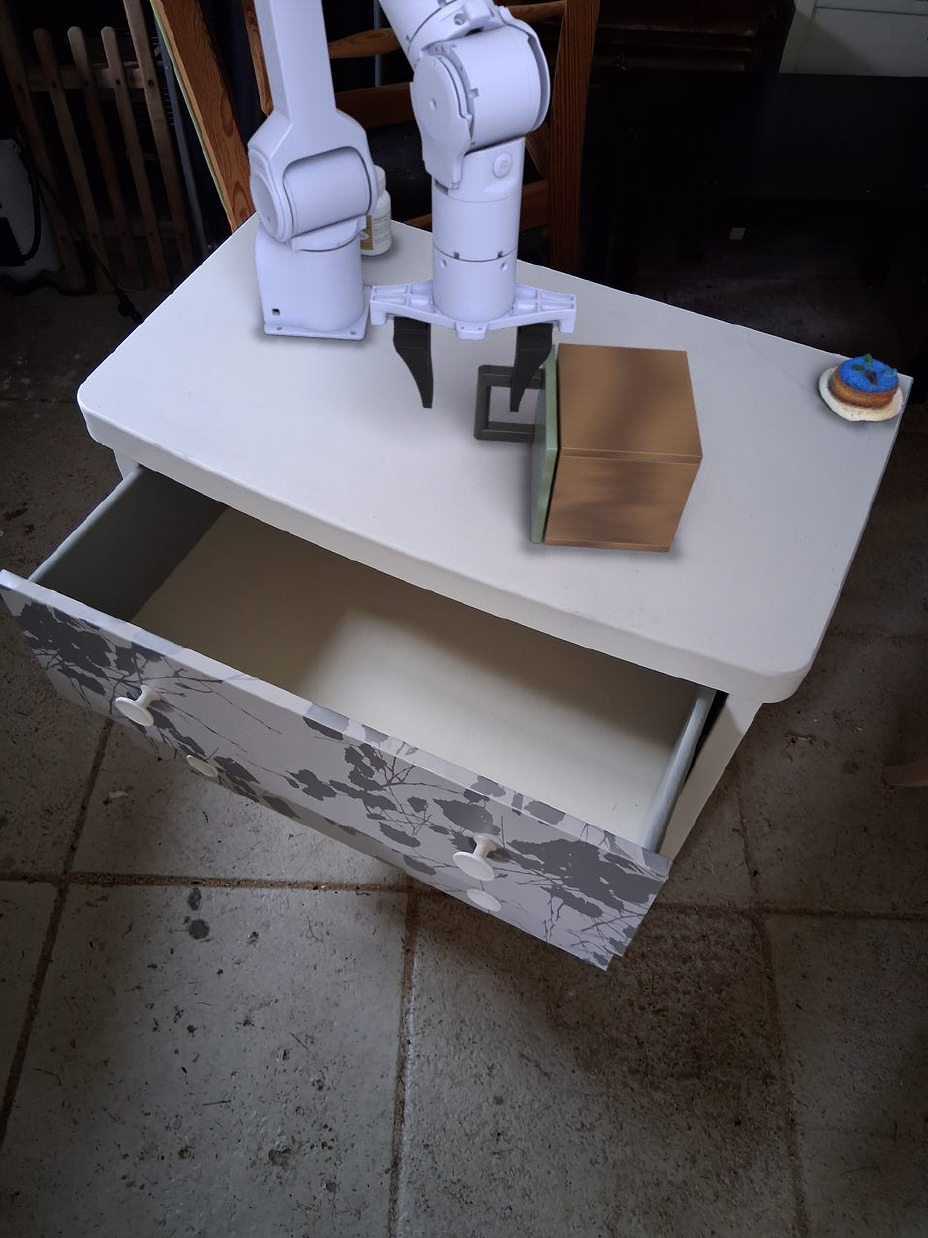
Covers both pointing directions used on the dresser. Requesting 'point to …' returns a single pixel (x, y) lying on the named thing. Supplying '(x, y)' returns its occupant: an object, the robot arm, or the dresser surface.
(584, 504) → the cupboard
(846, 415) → the dessert
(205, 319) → the dresser surface
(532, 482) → the door
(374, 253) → the pill bottle
